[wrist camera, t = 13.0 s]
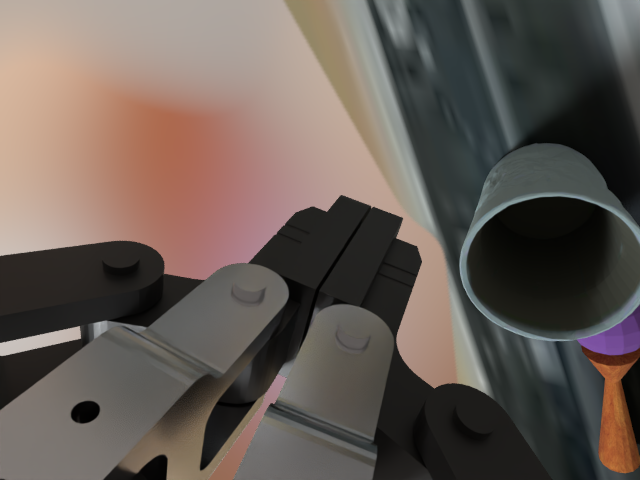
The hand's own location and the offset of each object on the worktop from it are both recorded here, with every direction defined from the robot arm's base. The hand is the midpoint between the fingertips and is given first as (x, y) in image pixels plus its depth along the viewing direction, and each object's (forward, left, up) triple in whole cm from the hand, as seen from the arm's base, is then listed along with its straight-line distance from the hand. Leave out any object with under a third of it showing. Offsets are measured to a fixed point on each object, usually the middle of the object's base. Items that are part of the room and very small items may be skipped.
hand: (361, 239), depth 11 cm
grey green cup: (-9, +8, -29) cm, 32 cm away
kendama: (-21, +21, -30) cm, 42 cm away
